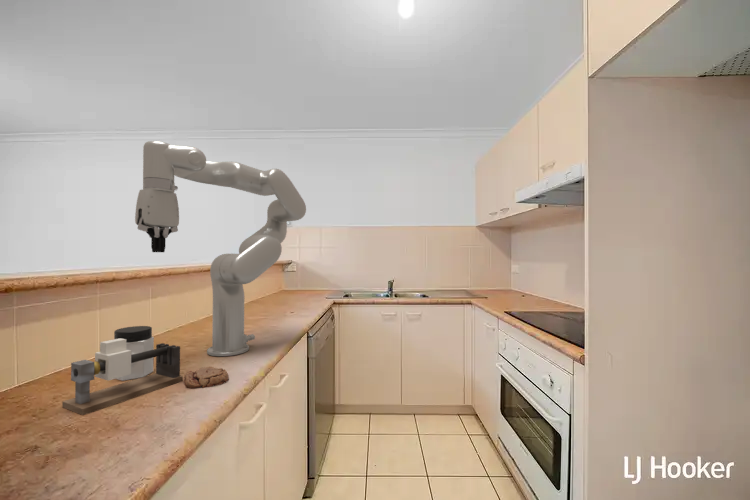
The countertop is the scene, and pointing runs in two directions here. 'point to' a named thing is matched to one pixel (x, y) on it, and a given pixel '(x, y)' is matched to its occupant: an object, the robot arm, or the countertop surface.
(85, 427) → the countertop surface
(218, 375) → the cookie
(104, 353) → the sleeve
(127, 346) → the jar
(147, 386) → the comb rig
